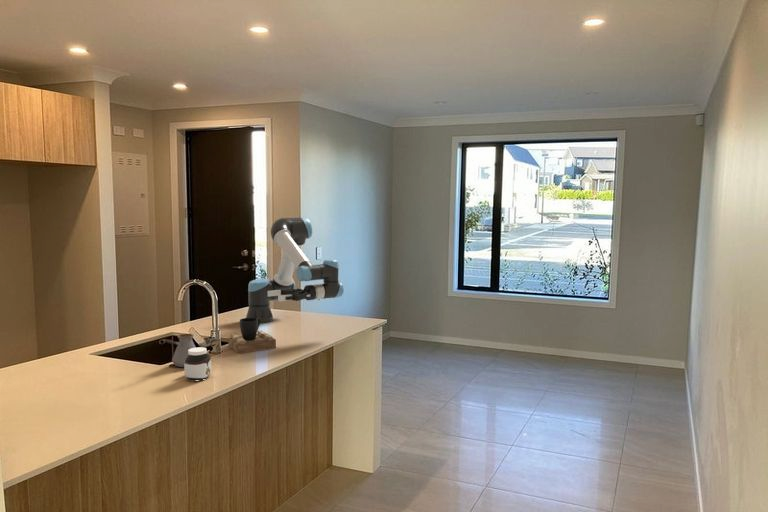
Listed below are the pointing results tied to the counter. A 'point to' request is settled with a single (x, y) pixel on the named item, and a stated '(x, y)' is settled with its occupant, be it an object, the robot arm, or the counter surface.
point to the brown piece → (251, 342)
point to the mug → (249, 328)
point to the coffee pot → (181, 348)
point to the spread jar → (197, 364)
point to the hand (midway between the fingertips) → (272, 296)
